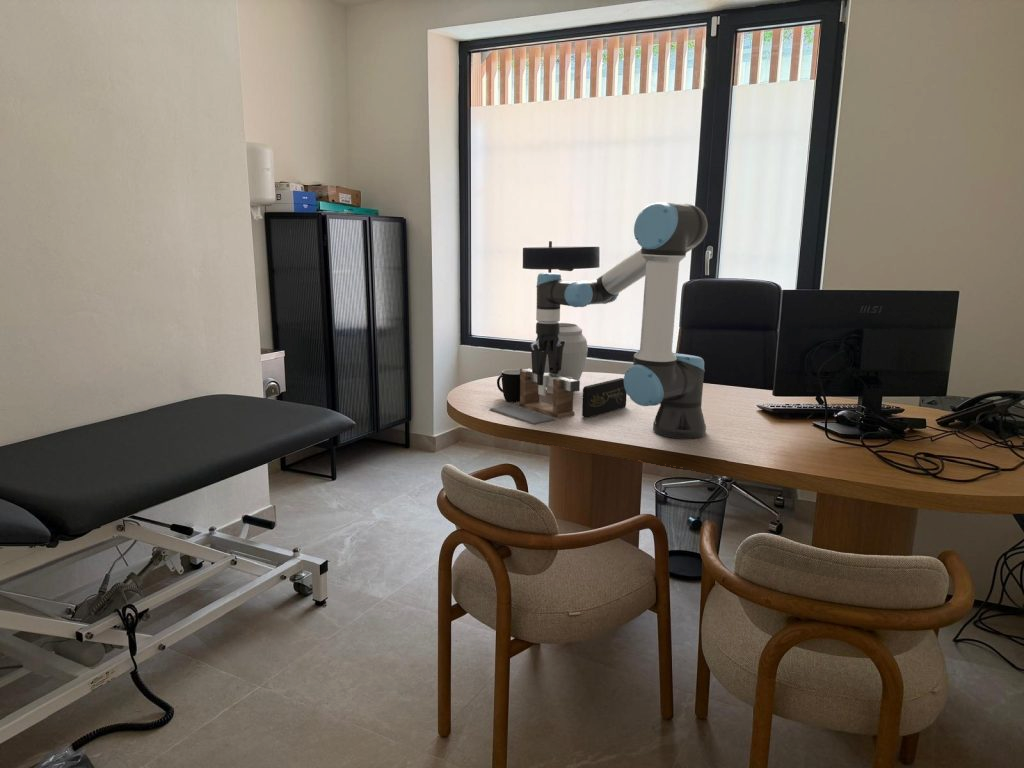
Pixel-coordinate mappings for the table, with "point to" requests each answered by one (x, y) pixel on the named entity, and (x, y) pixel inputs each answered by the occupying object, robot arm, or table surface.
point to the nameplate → (603, 398)
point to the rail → (565, 382)
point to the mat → (523, 414)
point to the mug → (510, 385)
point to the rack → (532, 401)
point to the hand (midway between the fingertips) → (546, 393)
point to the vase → (571, 351)
